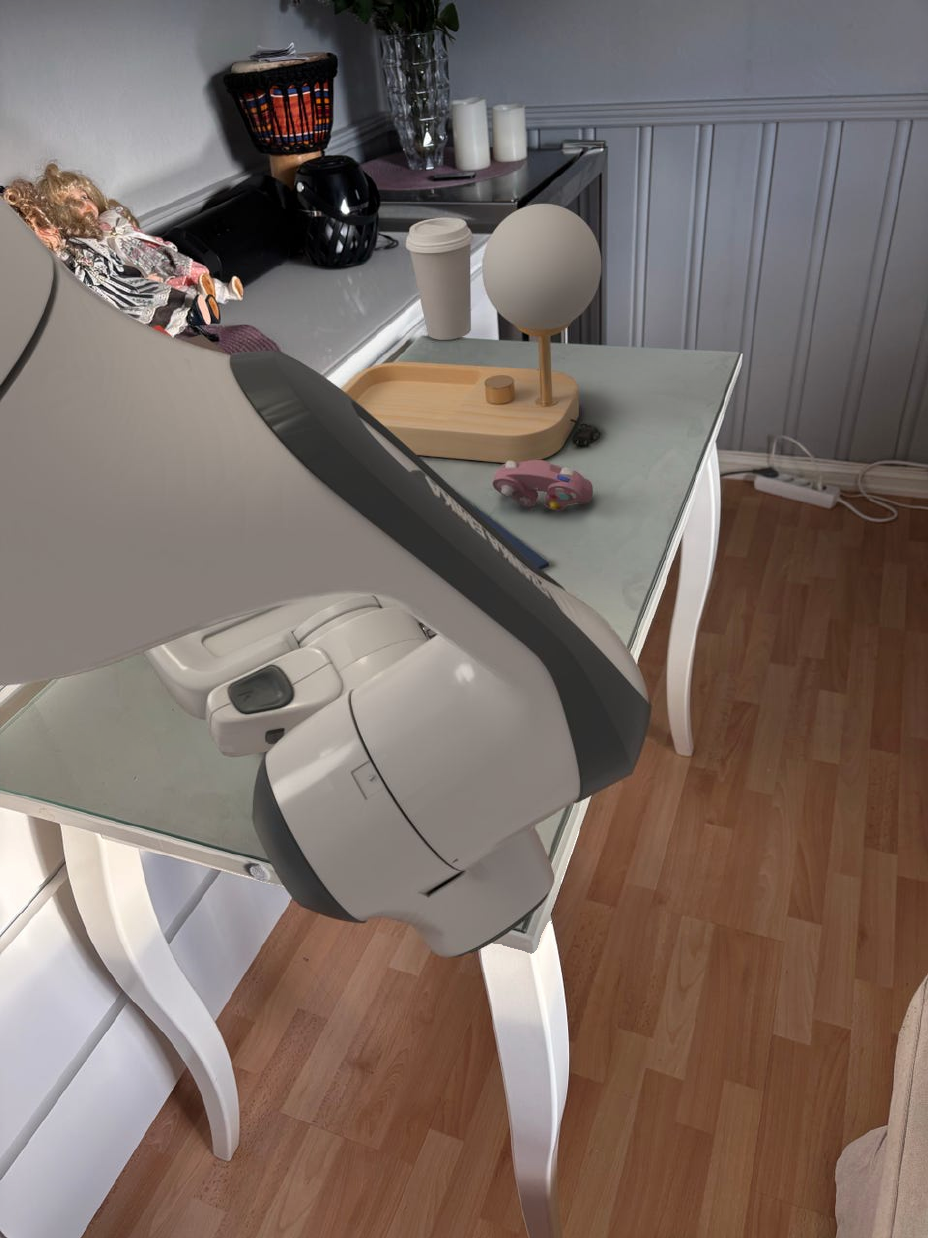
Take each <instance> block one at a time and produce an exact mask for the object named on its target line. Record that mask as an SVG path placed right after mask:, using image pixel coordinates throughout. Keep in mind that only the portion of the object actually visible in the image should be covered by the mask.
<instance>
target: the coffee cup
mask: <svg viewBox="0 0 928 1238" xmlns="http://www.w3.org/2000/svg"><path fill="white" fill-rule="evenodd" d="M473 241H474V235H473V232H472V230H471V228H469V227H468V223H467V222H466V220H464V219H461V218H459V217H458V218H457V217H436V218H429V219H425V220H422V221H419V222H416V223H413V225H411V226H410V227H409V230H408V235H407V236H406V240H405V248H406V249H407V250H408V251H409V253H410V258H411V263H412V267H413V272H414V276H415V280H416V286H417V290H418V291H417V292H418V295H419V300H420V305H421V310H422V314H423V318H424V323H425V329H426V333H427V336H428V337H429V338H431V339H434V340H437V341H451V340H456V339H460V338H462V337H463V338H464V337H465V336H467V335H468V334H470V333H471V331H472V313H471V312H472V311H471V310H472V303H471V301H472V298H471V297H472V295H471V294H472V292H471V290H472V289H471V288H472V287H471V286H472V285H471V284H472V283H471V244H472V243H473Z"/></svg>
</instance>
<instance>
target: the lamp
mask: <svg viewBox="0 0 928 1238" xmlns="http://www.w3.org/2000/svg"><path fill="white" fill-rule="evenodd" d="M601 257H602V256H601V250H600V247H599V244H598V241H597V239H596V236H595V234H594V232H593V231H592V229H591V228H590V226H589V225H588V224H587V222H585V220H584V219H583V218H581V217H580V216H579V215H578V214H576V213H575V212H573V211H572V210H570V209H568V208H565V207H563V206H560V205H556V204H551V203H535V204H531V205H527V206H524V207H521V208H518V209H517V210H515V211H513V212H512V213H511V214H509V215H507V216H506V217H505V218H504V219H503V220H502V221H501V222H500V223H499V224H498V225H497V226H496V228H495V229H494V231H493V232H492V234H491V235H490V237H489V239H488V241H487V243H486V245H485V249H484V253H483V257H482V266H481V271H482V272H481V273H482V281H483V286H484V290H485V292H486V295H487V298H488V300H489V301H490V303H491V305H492V306H493V308H494V309H495V310H496V311H497V313H498V314H499V315H500V316H501V317H502V318H504V319H505V320H506V321H508V322H509V323H511V325H514V326H515V327H516V329H518V330H519V331H520V332H522V333H523V334H526V335H528V336H532V337H537V343H538V344H537V345H538V347H537V348H538V365H539V367H538V368H539V369H538V368H520V367H503V366H485V365H469V364H453V363H452V364H451V363H435V362H419V361H418V362H415V361H391V362H390V361H389V362H384V363H380V364H376V365H372V366H369V367H365V368H364V369H362V370H360V371H358V372H357V373H356V374H355V375H353V376H352V377H351V378H350V379H349V380H348V381H347V382H346V383H345V384H344V385H343V386H342V387H341V388H340V389H341V390H343V391H344V392H345V393H346V394H348V395H349V396H350V397H351V398H352V399H354V400H355V401H356V402H357V403H358V404H359V405H361V406H362V407H363V408H364V409H365V410H366V411H367V412H369V413H370V414H371V415H372V416H373V417H374V418H376V419H377V420H378V421H379V422H380V423H381V424H383V425H384V426H385V427H386V428H387V429H388V430H389V431H391V432H392V433H393V434H394V435H395V436H396V437H397V438H399V439H400V440H401V441H402V442H403V443H404V444H405V445H406V446H407V447H409V448H410V449H411V450H412V451H413V452H414V453H415V454H416V455H417V456H426V457H435V458H447V459H457V460H467V461H478V462H489V463H500V464H505V463H506V462H507V461H514V462H515V463H518V462H523V461H530V460H544V459H546V458H549V457H551V456H553V455H554V454H556V453H557V452H559V451H560V450H561V449H562V447H563V446H564V445H565V443H566V441H567V440H568V438H569V436H570V434H571V432H572V431H573V428H574V427H575V424H577V425H578V426H580V428H578V431H577V432H575V433H574V434H573V436H572V442H573V443H575V445H577V446H590V443H593V442H595V441H597V440H598V439H599V438H600V437H601V431H600V429H598V428H596V427H594V426H592V425H589V424H587V423H580V421H578V418H579V415H580V401H579V399H580V398H579V397H580V393H579V383H578V382H577V380H576V379H575V378H574V377H573V376H571V375H569V374H567V373H565V372H560V371H557V370H552V350H551V349H552V347H551V336H555V335H557V334H560V333H561V332H563V331H565V330H566V329H567V328H568V327H569V326H571V324H572V322H573V321H575V320H576V319H577V318H579V317H580V316H581V315H582V314H583V313H584V311H586V309H587V308H588V307H589V306H590V304H591V302H592V301H593V300H594V297H595V296H596V293H597V291H598V288H599V285H600V281H601V276H602V258H601ZM596 433H597V435H596ZM595 435H596V437H594V436H595Z"/></svg>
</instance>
